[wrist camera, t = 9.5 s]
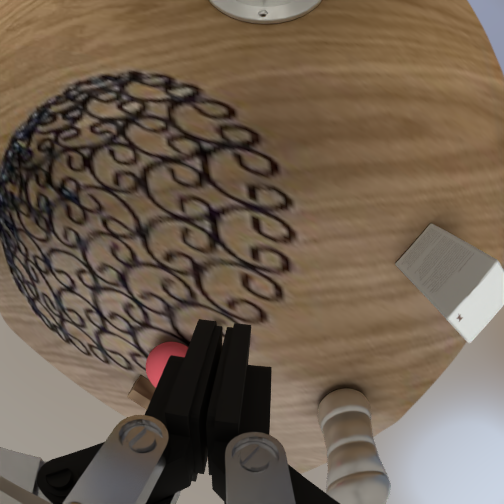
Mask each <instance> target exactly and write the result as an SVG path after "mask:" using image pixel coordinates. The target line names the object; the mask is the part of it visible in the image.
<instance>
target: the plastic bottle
mask: <svg viewBox="0 0 504 504" xmlns="http://www.w3.org/2000/svg"><path fill="white" fill-rule="evenodd" d="M317 417H318V422H319V425H320V428H321V430H322V433H323V436H324V440H325V445H326V449H327V458H328V459H327V460H328V474H327V486H326V494H328V495H329V496H330V497H332V498H333V499H335V500H336V501H337V502H339V503H340V504H386V502H387V499H388V497H389V494H390V488H391V484H390V481H389V477H388V476H387V473H386V471H385V469H384V467H383V464H382V462H381V460H380V458H379V455H378V452H377V449H376V446H375V442H374V438H373V432H372V425H371V408H370V404H369V402H368V400H367V399H366V397H365V396H364V394H362V393H361V392H359V391H357V390H354V389H349V388H344V389H339V390H335V391H333V392H331V393H329V394H328V395H327V396H326V397H325V398H324V399H323V400H322V401H321V403H320V405H319V408H318V415H317Z"/></svg>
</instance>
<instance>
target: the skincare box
mask: <svg viewBox="0 0 504 504" xmlns="http://www.w3.org/2000/svg"><path fill="white" fill-rule="evenodd" d="M395 265H396V266H397V267H398V268H399V269H400V270H401V271H402V272H403V273H404V275H405V276H406V277H407V278H408V279H409V280H410V281H411V282H412V283H413V284H414V285H415V286H416V287H417V288H418V289H419V290H420V291H421V292H422V293H423V294H424V296H425V297H426V298H427V299H428V300H429V301H430V302H431V303H432V304H433V305H434V306H435V307H436V308H437V309H438V310H439V312H440V313H441V314H442V315H443V316H444V317H445V318H446V320H447V321H448V322H449V323H450V324H451V325H452V326H453V327H454V328H455V329H456V330H457V331H458V333H459V334H460V335H461V336H462V337H463V338H464V339H465V340H466V341H467V342H468V343H471V342H472V341H473V340H474V339H475V337H476V336H477V335H478V334H479V333H480V332H481V331H482V330H483V328H484V327H485V326H486V325H487V324H488V323H489V321H490V320H491V319H492V318H493V317H494V316H495V314H497V312H498V311H499V310H500V309H501V308H502V306H503V305H504V270H503V268H502V266H501V265H500V263H499V261H498V260H497V259H495V258H493V257H491V256H489V255H488V254H486V253H484V252H483V251H481V250H479V249H477V248H476V247H474V246H472V245H470V244H469V243H467V242H465V241H463V240H462V239H460V238H458V237H456V236H454V235H453V234H451V233H449V232H447V231H445V230H443V229H442V228H440V227H438V226H436V225H434V224H432V223H431V224H430V225H429V226H428V227H427V228H426V229H425V231H424V232H423V233H422V234H421V235H420V236H419V238H418V239H417V240H416V241H415V242H414V243H413V245H412V246H411V247H410V248H409V249H408V250H407V251H406V252H405V254H404V255H403V256H402V257H401V258H400V259H399V260H398V261H397V262H396V264H395Z"/></svg>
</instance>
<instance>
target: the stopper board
mask: <svg viewBox="0 0 504 504" xmlns="http://www.w3.org/2000/svg"><path fill="white" fill-rule="evenodd" d="M155 389H156V387H154V386H153V384H152V383H151V382H150V381H149V380H148V379H146V378H145V377H143V376H142V375H140V377H139V378H138V379H137V380H136V382H135V383H134V385H133V387H132V389H131V391H130V392H129V394H128V396H127V397H128V398H130V399H131V400H133V401H134V402H136V403H137V404H139V405H140V406H142V407H143V408H145V409H147V408H148V406H149V403H150V401H151V399H152V396H153V394H154V391H155Z"/></svg>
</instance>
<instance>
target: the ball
mask: <svg viewBox="0 0 504 504" xmlns="http://www.w3.org/2000/svg"><path fill="white" fill-rule="evenodd" d="M187 349H188V347H187V346H185V345H184V344H181V343H178V342H165V343H162V344H160V345H158V346H156V347H155V348H154V349H153V350H152V351H151V352H150V354H149V356H148V358H147V362H146V373H147V376H148V378H149V380H150V382H151V383H152V384H153V386H154V387H157V384H158V382H159V380H160V377H161V375H162V373H163V370H164V368H165V365H166V363H167V361H168V359H169V357H170V356H171V355H173V356H180V357H185V355H186V352H187Z"/></svg>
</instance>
